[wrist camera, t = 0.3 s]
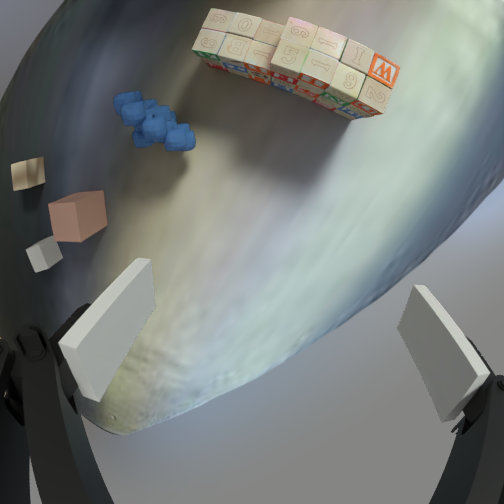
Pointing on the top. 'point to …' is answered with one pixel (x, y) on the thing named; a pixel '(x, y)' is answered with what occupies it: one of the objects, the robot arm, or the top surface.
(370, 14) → the top surface
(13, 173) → the maple block
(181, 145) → the grapes
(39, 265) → the off-white plastic block
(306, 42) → the stack of blocks
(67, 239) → the terracotta block
